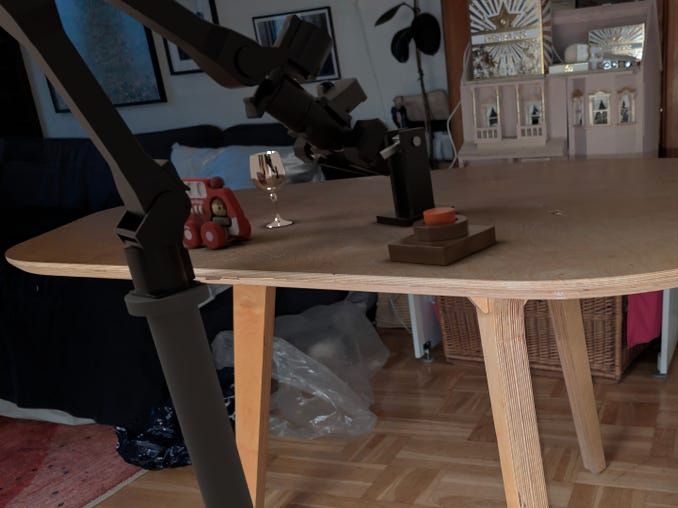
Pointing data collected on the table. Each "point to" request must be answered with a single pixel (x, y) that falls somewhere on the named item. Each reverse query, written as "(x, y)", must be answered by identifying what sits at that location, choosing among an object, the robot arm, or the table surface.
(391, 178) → the bracket
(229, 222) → the toy fire truck
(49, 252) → the table surface
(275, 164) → the wineglass
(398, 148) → the lever
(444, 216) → the button
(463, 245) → the button block
